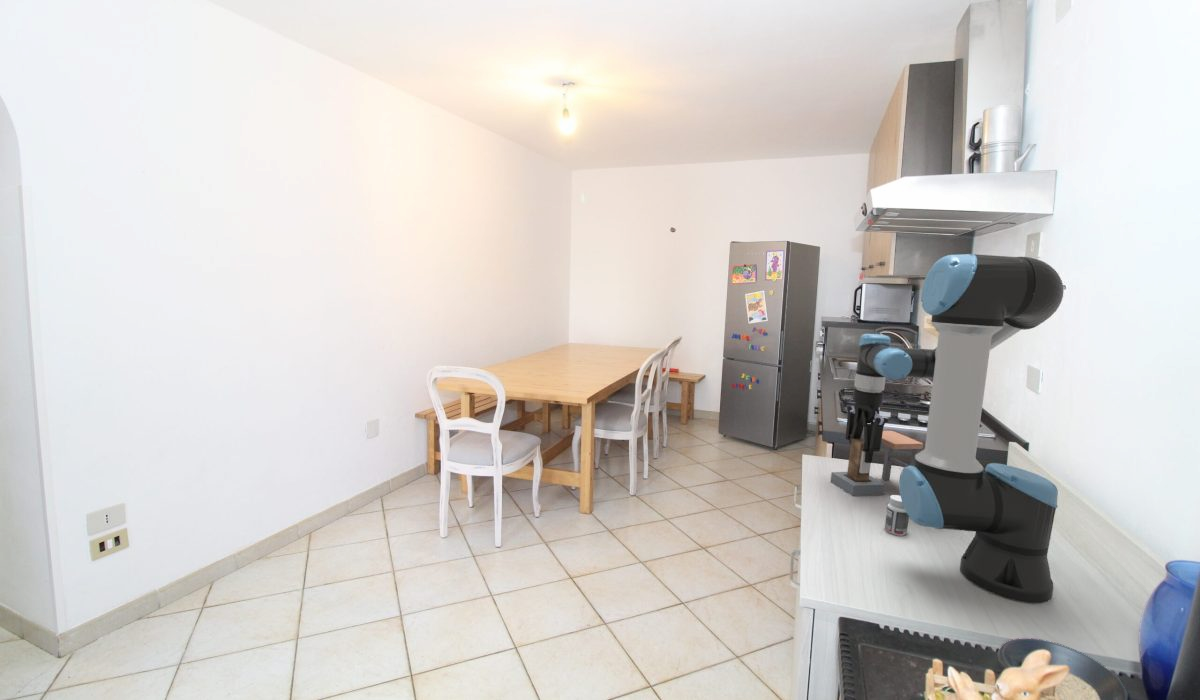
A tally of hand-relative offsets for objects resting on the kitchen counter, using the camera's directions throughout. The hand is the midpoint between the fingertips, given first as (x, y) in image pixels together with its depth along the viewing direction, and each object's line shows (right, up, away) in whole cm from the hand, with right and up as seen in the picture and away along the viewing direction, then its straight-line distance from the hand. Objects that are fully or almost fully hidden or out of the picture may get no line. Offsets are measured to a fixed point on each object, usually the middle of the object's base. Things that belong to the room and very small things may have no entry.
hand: (858, 469), depth 156 cm
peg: (0, -3, +1) cm, 4 cm away
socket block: (0, -6, +1) cm, 6 cm away
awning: (+10, -6, +3) cm, 11 cm away
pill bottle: (-3, -10, -25) cm, 27 cm away
